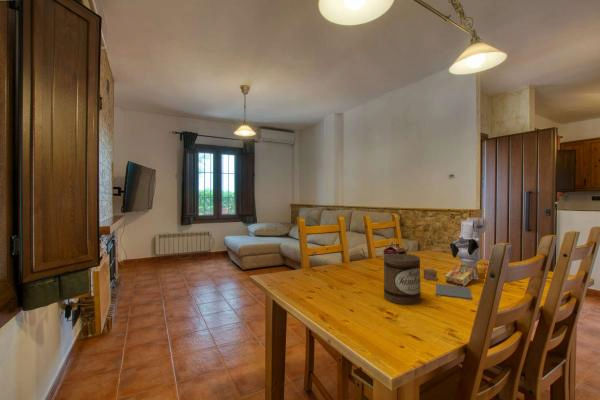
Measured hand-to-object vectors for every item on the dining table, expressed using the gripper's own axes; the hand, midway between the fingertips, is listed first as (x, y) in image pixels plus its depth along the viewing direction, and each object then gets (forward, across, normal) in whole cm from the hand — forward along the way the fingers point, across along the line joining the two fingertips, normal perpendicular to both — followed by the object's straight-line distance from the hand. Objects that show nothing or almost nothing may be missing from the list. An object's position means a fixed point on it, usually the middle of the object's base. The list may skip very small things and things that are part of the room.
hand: (461, 254), depth 136 cm
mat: (+17, -4, +6) cm, 19 cm away
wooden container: (+37, -14, -11) cm, 41 cm away
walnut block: (+5, -20, +8) cm, 22 cm away
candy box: (+7, -8, +9) cm, 14 cm away
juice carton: (+27, -24, -9) cm, 37 cm away
